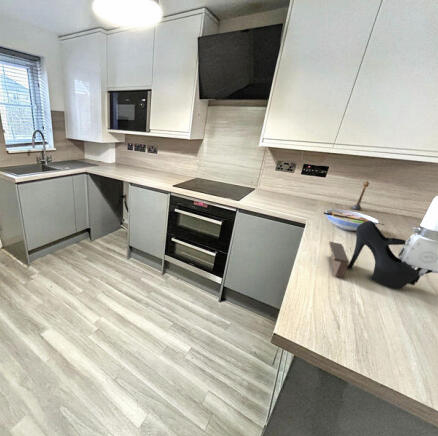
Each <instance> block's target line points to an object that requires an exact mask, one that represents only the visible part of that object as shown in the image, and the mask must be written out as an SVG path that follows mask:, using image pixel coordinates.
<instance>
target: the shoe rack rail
mask: <svg viewBox="0 0 438 436" xmlns="http://www.w3.org/2000/svg"><path fill="white" fill-rule="evenodd" d="M328 246H329V250H330V252H331V254H330V256H329V259H330V263H331V267H332V270H333V273H334V277H336V278H340V279H343V277H344V274H345V272H346V270H347V269H348V267H347V266H348V265H349V263H350V260H349V259H348V258H349V257H348V256H347V253H346V251H345V249H344V246H343V244H342V243H339V242H333V241H329V242H328Z"/></svg>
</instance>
